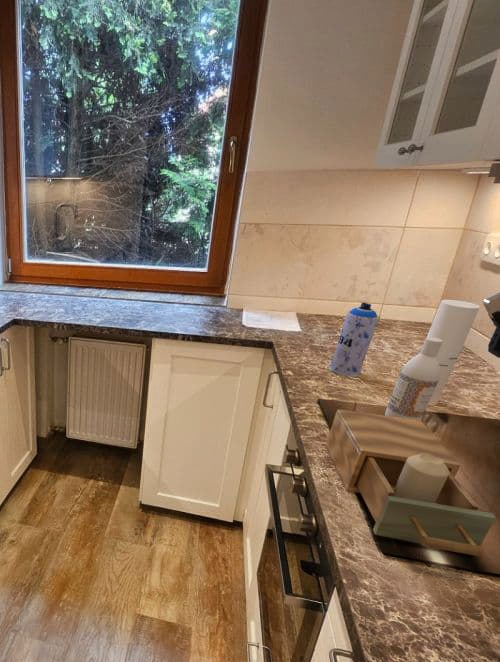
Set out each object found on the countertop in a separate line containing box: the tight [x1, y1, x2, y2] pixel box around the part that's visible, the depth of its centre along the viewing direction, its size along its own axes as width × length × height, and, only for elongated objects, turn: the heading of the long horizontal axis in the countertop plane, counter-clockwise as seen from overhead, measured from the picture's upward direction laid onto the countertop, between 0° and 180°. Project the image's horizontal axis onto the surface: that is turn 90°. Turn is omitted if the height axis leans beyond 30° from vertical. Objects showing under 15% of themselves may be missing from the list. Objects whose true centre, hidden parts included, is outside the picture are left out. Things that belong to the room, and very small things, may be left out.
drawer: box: [355, 455, 497, 557], centre depth 75 cm, size 20×14×7 cm
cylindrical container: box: [426, 299, 481, 406], centre depth 115 cm, size 7×7×25 cm
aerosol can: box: [328, 302, 379, 378], centre depth 131 cm, size 8×8×20 cm
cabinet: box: [325, 409, 461, 494], centre depth 89 cm, size 16×15×9 cm
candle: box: [393, 453, 449, 504], centre depth 76 cm, size 6×6×10 cm
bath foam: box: [384, 336, 442, 421], centre depth 106 cm, size 7×7×20 cm
